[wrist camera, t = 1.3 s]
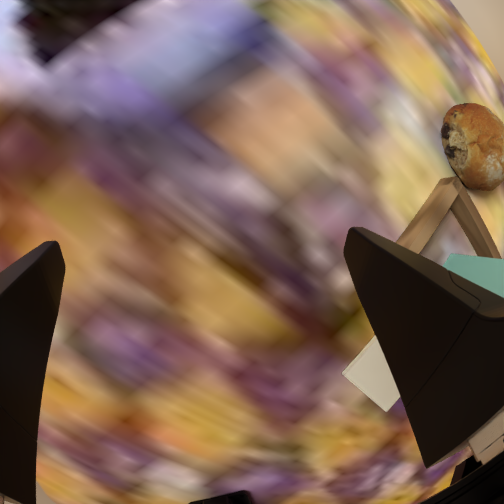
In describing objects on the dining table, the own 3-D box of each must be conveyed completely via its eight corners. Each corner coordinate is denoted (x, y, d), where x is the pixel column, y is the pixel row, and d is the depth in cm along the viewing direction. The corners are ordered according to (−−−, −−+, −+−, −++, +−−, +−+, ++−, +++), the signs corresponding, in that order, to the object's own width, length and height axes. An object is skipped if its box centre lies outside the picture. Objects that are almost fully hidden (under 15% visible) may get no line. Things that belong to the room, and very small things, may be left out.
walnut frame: (458, 355, 30) (472, 361, 28) (385, 255, 27) (402, 257, 24) (500, 286, 31) (514, 289, 28) (440, 178, 28) (457, 176, 25)
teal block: (447, 312, 29) (541, 343, 16) (429, 286, 28) (532, 311, 15) (467, 280, 29) (560, 299, 17) (451, 253, 29) (551, 265, 16)
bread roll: (454, 201, 33) (511, 213, 26) (427, 153, 27) (501, 162, 20) (468, 137, 33) (520, 143, 26) (442, 83, 27) (506, 84, 20)
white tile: (383, 409, 28) (386, 412, 28) (341, 373, 27) (343, 375, 26) (431, 352, 29) (434, 353, 28) (396, 308, 28) (400, 309, 27)
